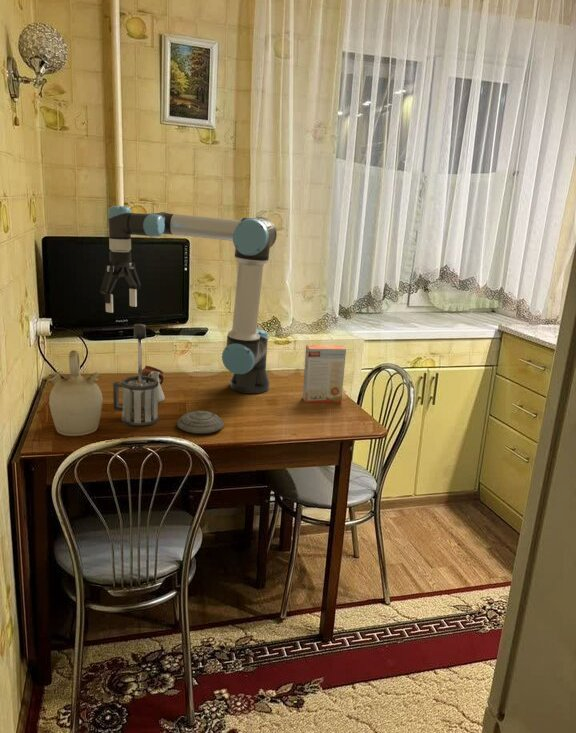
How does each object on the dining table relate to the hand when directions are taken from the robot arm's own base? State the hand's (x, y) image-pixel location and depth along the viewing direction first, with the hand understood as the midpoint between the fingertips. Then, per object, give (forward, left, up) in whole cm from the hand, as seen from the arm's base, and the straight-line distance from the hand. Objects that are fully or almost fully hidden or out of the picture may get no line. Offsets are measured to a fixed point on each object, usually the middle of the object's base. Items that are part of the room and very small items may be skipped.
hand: (121, 309), depth 222 cm
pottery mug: (-11, -2, -29) cm, 31 cm away
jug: (-9, +45, -29) cm, 54 cm away
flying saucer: (-43, +29, -29) cm, 59 cm away
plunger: (-23, +31, -18) cm, 43 cm away
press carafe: (-21, +31, -28) cm, 47 cm away
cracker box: (-75, -12, -29) cm, 81 cm away
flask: (-19, +12, -29) cm, 36 cm away
